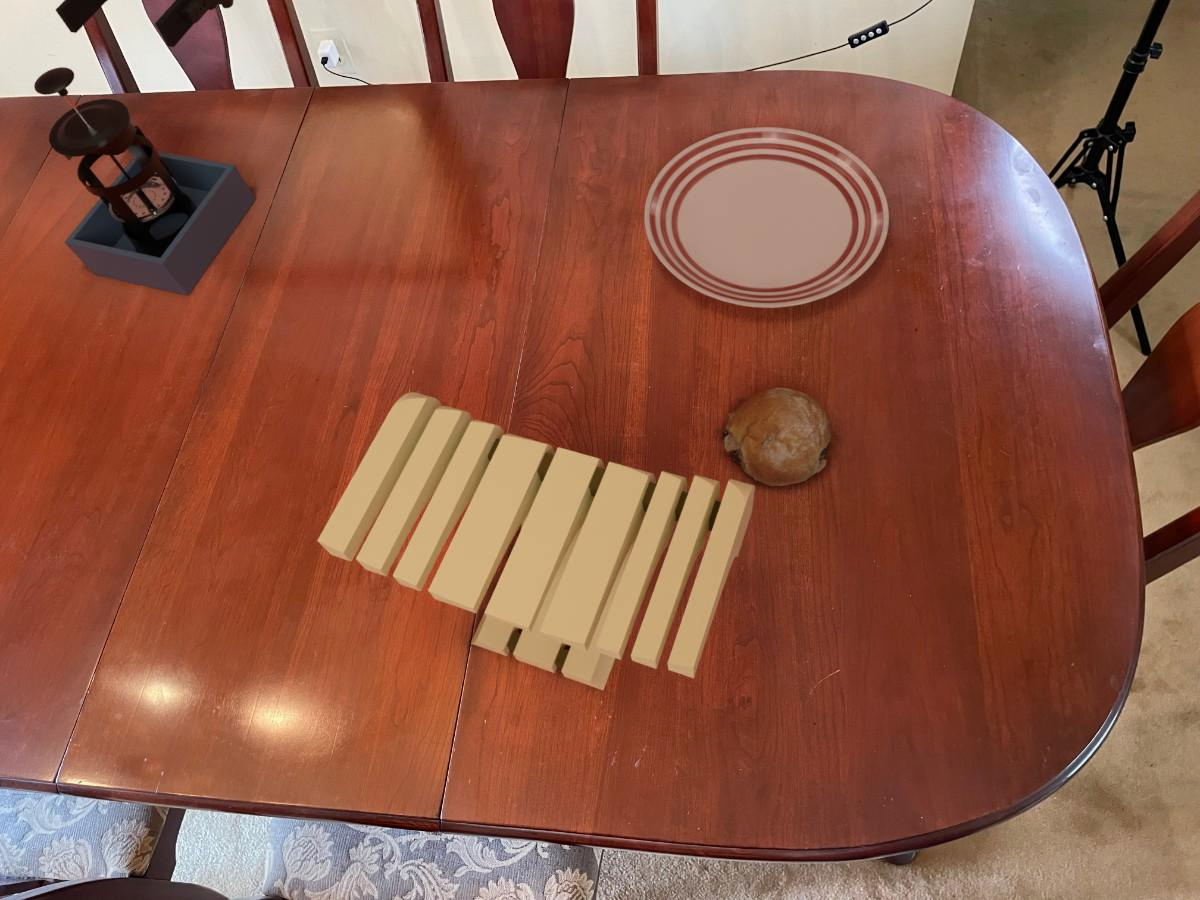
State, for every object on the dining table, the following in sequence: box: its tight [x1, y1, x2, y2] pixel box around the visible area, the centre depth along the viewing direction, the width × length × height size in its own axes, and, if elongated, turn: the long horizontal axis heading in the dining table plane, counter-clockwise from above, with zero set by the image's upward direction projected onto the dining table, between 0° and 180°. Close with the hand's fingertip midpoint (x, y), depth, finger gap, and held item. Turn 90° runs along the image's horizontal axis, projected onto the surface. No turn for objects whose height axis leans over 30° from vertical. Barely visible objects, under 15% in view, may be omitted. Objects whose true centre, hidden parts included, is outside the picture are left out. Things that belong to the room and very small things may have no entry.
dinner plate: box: [643, 126, 890, 309], centre depth 97 cm, size 28×27×3 cm
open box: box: [64, 150, 256, 297], centre depth 106 cm, size 15×17×6 cm
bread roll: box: [721, 387, 833, 487], centre depth 83 cm, size 10×10×8 cm
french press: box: [33, 66, 197, 258], centre depth 98 cm, size 12×9×23 cm
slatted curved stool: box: [316, 391, 756, 692], centre depth 72 cm, size 30×16×18 cm, turn 69°
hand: (113, 28), depth 94 cm, fingers open, 13 cm apart
